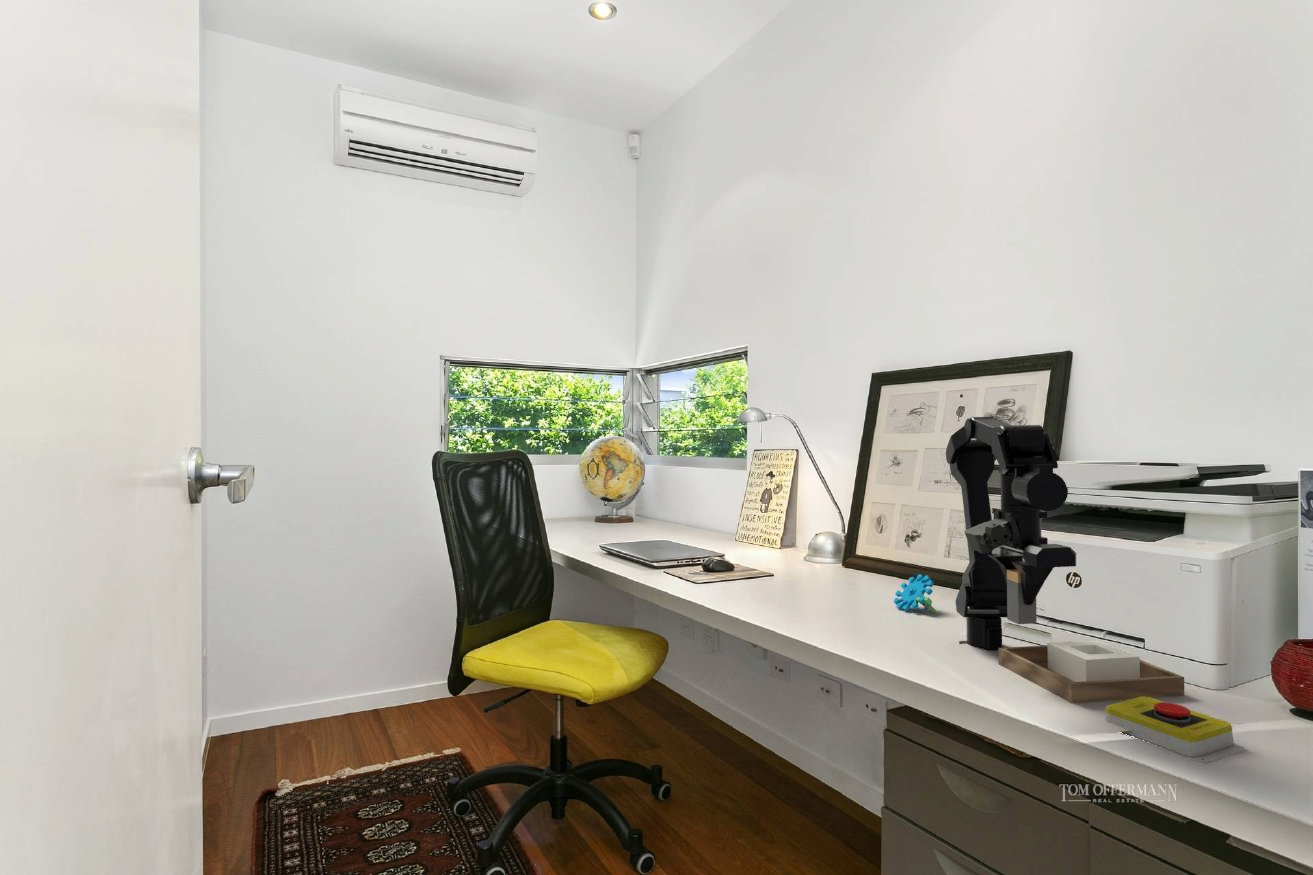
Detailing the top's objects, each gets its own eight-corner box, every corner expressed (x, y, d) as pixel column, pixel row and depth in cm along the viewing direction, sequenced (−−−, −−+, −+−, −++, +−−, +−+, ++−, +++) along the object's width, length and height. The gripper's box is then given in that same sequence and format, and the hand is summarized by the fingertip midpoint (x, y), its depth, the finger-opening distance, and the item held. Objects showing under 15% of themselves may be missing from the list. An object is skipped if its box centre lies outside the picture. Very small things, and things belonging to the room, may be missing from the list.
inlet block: (1047, 668, 120) (1047, 642, 120) (1097, 665, 122) (1097, 640, 122) (1086, 687, 112) (1085, 659, 112) (1140, 683, 113) (1139, 656, 113)
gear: (885, 597, 170) (915, 566, 170) (901, 613, 171) (931, 583, 171) (907, 615, 159) (940, 582, 159) (924, 632, 160) (956, 600, 160)
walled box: (998, 668, 123) (998, 647, 123) (1096, 662, 125) (1096, 642, 125) (1071, 708, 105) (1071, 684, 105) (1184, 700, 107) (1184, 677, 107)
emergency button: (1205, 732, 87) (1086, 692, 101) (1205, 768, 87) (1086, 723, 101) (1249, 718, 91) (1129, 681, 105) (1250, 753, 91) (1129, 712, 105)
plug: (1007, 619, 117) (1006, 569, 117) (1025, 618, 118) (1024, 568, 117) (1018, 624, 114) (1017, 573, 114) (1036, 623, 115) (1035, 572, 114)
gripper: (943, 499, 124) (944, 591, 124) (1005, 512, 106) (1007, 619, 106) (1005, 498, 125) (1006, 588, 125) (1078, 509, 107) (1079, 616, 107)
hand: (1021, 602), depth 116 cm, fingers closed on plug, 3 cm apart
